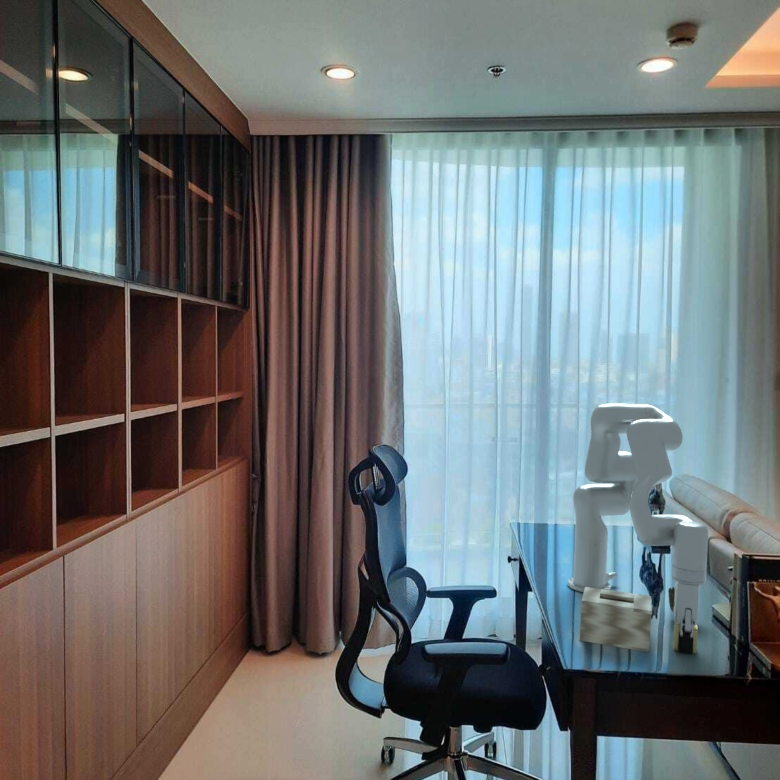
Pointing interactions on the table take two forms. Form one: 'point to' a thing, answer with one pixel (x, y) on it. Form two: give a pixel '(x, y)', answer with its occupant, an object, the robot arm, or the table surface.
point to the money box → (616, 619)
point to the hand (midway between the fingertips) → (684, 648)
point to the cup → (671, 597)
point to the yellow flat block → (677, 633)
